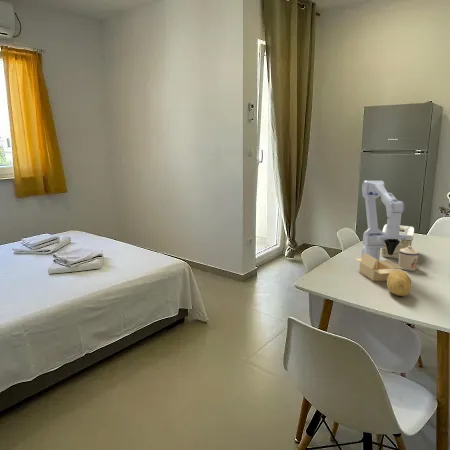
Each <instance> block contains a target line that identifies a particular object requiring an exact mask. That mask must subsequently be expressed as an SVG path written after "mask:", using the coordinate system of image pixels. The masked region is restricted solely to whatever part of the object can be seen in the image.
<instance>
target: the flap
mask: <svg viewBox="0 0 450 450" xmlns="http://www.w3.org/2000/svg"><path fill="white" fill-rule="evenodd" d="M360 262H361V263H362V264H364V265H366V266H368V267H369V268H371V269H373V268H374V266H375V264H376V262H377V259H375V258H374V257H372V256H370V255H368V254H366V253H364V254H363V256H362V259H361V261H360ZM360 262H359V263H360Z"/></svg>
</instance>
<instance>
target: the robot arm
mask: <svg viewBox="0 0 450 450" xmlns="http://www.w3.org/2000/svg"><path fill="white" fill-rule="evenodd" d="M385 185H386V184H385V182H384V180H381V179H380V180H364V181H363V182H362V183H361V194H362V198H364V202H365V211H366V212H365V214H366V220H367V222H366V223H367V229H366V230H365V231H364V232H363V234H362V236H363V237H362V244H363V247H362V249H361V256H360V258H362V256H363V254H364V253H366V254H368V255H370V256H372V257H374V258H375V259H377V260H378V261H380V256H381V255H380V254H381V249H382V246H384V244H386V247H387V251H388V254H389V255H393V253H394V250H395V248H396V247H397V245H398V244H399V243H400V241H399V240H398V239H405V240H407V235H399V233H400V231H401V230H400V225H401V223H402V214H403V213H404V212H405V209H406V206H405V203H404V201H403V200H398V199H397V198H396V197H395V196H394V195H393V193H392V192H388V191H387V189H386V188H385V187H386V186H385ZM379 197H381V198H380V201H381V202H382V204H384V207H385V210H386V217H387V220H386V224H387V228H386V235H383V232H382V231H383V230H382V229H380V228H379V223H378V222H379V221H378V213H377V204H376V200H377V199H378V198H379Z"/></svg>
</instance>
